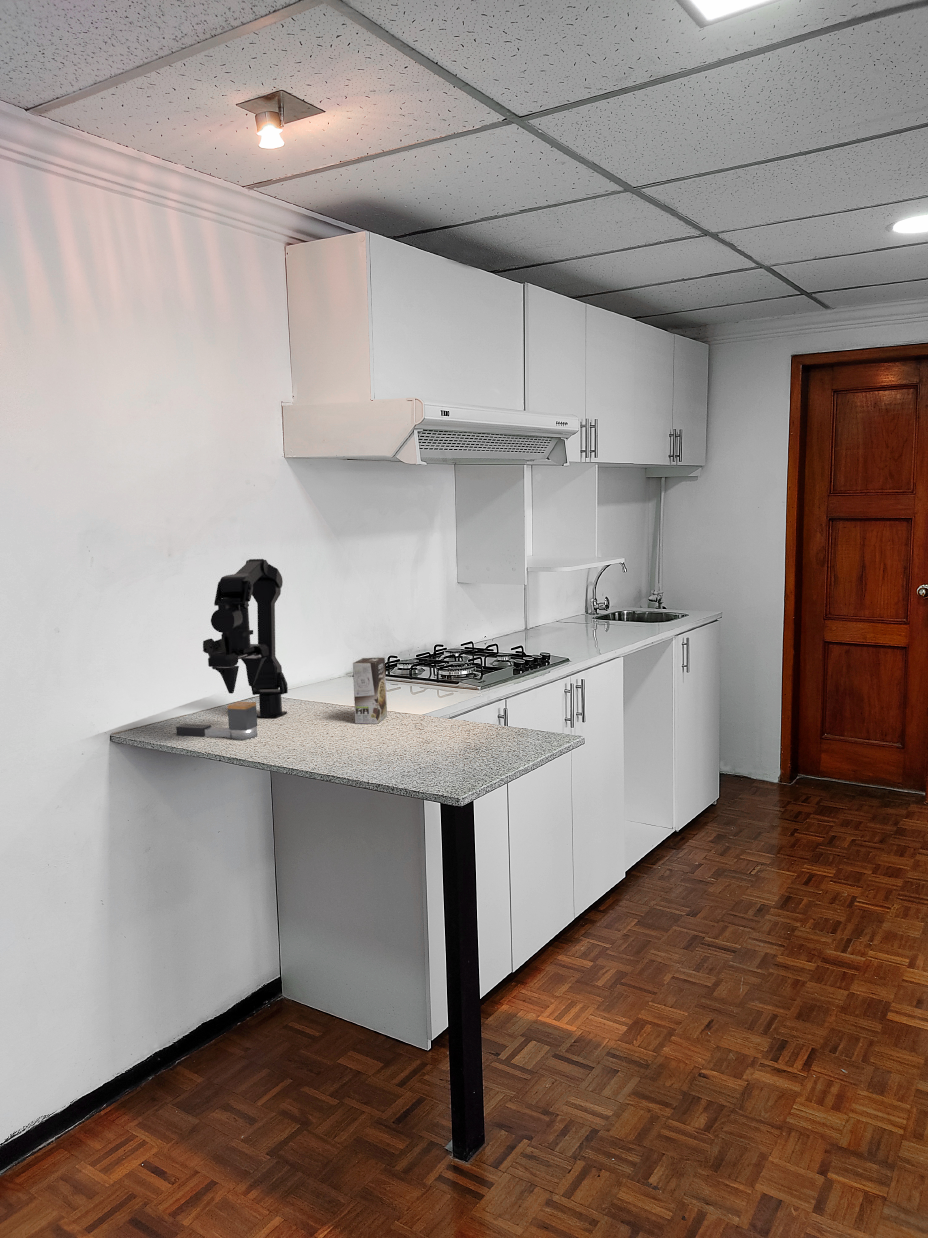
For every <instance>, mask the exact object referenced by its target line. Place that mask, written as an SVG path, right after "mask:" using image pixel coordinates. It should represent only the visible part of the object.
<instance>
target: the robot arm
mask: <svg viewBox="0 0 928 1238" xmlns="http://www.w3.org/2000/svg"><path fill="white" fill-rule="evenodd" d="M216 586H217V587H216V592H215V597H214V603H213V604H214V607H215V606H217V609H216V610H214V612H213V613H212V615H211V618H210V624H211V626H212V628H213V629H214V630H215V631H216V632H219V633H221V634H220V635H221V638H220V639H216V640H214V639H213V638H208V639H205V640H203V642H202V652H203V653H205V654H208V658H207V665H208V667H211V669H212V670H215V671H217V672H218V673H219V674H220V676H221V678H222V680H223V682H224V685H225V687H226V689H227V693H228V694H234V691H235V689H236V684H237V677H238V674H239V667H240V666H239V665H238V663H239V660H241V662H242V663H243V664H244V665H245V669H246V678H247V683H248V686H249V687H250V688H251V692H252V693H251V694H252V696H256V695H258V701H259V702H258V705H259V706H258V707H259V713H257V718H267V719H277V718H279V717H281V716H285V715H286V714H288V711H287V710H286V711H285V710H283V706H282V705H283V703H282V695H285V694H288V692H289V690H288V688H289V687H288V682H287V680H286V677H285V675H284V673H283V672H282V671H283V670H282V669H283V668H282V667H283V666H282V665H281V663H280V662H279V661H278V658H277V657H276V609H275V608H276V607H275V606H276V602H277V601H278V599H279V598H280V595H281V592H282V587H283V576H282V574H281V573H280V571H279V569H278V568H276V567H275V566H274V565H271V564H269V562H268V560H267V559H264V558H251V559H250V558H249V559H248V560H246V562H245V563H244V565H243V566H242V567H241V568H240V569H239V570H238V571H237V572H235V573H234V574H228V575H227V574H226V575H224V576H222V577H221V578H220V580H219V581H218V583H217V585H216ZM252 597H253V599H254V601H255V602H256V604H257V606H256V607H257V610H256V611H257V643H251V635H254V629H250V628H251V627H250V613H249V612H250V611H249V606H250V604H249V603H250V601H251V599H252Z"/></svg>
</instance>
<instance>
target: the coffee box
mask: <svg viewBox="0 0 928 1238" xmlns="http://www.w3.org/2000/svg"><path fill="white" fill-rule="evenodd" d="M352 671H353V672H352V673H353V675H352V676H353V696H354V697H353V699H354V722H355V724H369V725H370V724H371V725H378V724H379V723H381V722H382V721H383V720H384V719H386V718H387V717H388V703H387V700H388V699H387V682H386V681H387V680H386V679H387V677H386V658H385V657H362V658H361V659H358V660H356V661H355V662H353V663H352Z"/></svg>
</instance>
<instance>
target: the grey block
mask: <svg viewBox="0 0 928 1238" xmlns="http://www.w3.org/2000/svg"><path fill="white" fill-rule="evenodd" d="M257 711H258V710H257V702H256V701H241V700H240V701H236V702H234V703H230V704H227V717H228V721H227V722H228V723H227V724H228V728H229V730H249V729H251V728H253V727H256V726H257V727H258V717H257V714H258V713H257Z"/></svg>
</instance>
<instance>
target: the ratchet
mask: <svg viewBox="0 0 928 1238" xmlns="http://www.w3.org/2000/svg"><path fill="white" fill-rule="evenodd" d="M175 730H176V731H175V732H176V736H178V737H179V736H180V737H181V736H183V737H184V736H185V737H197V738H198V737H200V738H204V736H205V737H207V738H222V737H225V738H226V737H227V739H231V740H232V739H233V741H246V740H245V739H249V740H252V739H251V738H253V739H255V737H256V738H257V737H258V725H257V726H256V727H253V728H251V729H249V730H229V727H222V726H221V727H217V726H212V725H211V724H198V723H197V724H195V723H194V724H193V723H183V724H180V725H177V726H176V727H175Z"/></svg>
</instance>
